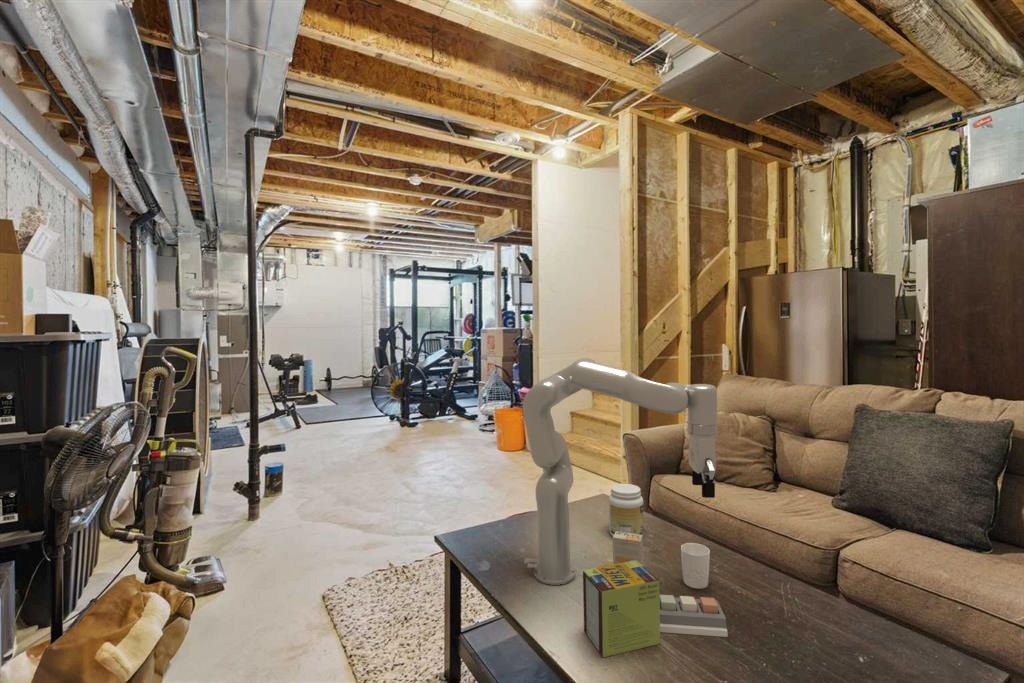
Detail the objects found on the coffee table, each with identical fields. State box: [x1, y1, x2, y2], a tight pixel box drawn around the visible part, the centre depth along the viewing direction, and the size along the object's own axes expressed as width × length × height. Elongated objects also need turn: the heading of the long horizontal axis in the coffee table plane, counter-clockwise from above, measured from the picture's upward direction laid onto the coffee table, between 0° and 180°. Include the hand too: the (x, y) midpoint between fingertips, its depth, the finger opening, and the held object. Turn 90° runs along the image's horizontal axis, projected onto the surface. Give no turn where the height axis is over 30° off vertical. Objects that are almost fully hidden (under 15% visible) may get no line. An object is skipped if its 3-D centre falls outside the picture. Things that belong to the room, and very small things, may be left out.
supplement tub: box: [608, 483, 645, 537], centre depth 169 cm, size 12×12×17 cm
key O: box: [659, 594, 676, 611], centre depth 120 cm, size 3×3×2 cm
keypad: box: [659, 596, 729, 638], centre depth 120 cm, size 16×10×4 cm, turn 81°
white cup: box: [680, 542, 711, 590], centre depth 137 cm, size 8×8×10 cm
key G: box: [699, 596, 718, 614], centre depth 119 cm, size 3×3×2 cm
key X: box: [679, 595, 697, 612], centre depth 119 cm, size 3×3×2 cm
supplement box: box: [612, 531, 644, 566], centre depth 140 cm, size 8×5×13 cm, turn 65°
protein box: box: [582, 560, 661, 658], centre depth 114 cm, size 10×15×16 cm
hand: (703, 490), depth 130 cm, fingers open, 9 cm apart
